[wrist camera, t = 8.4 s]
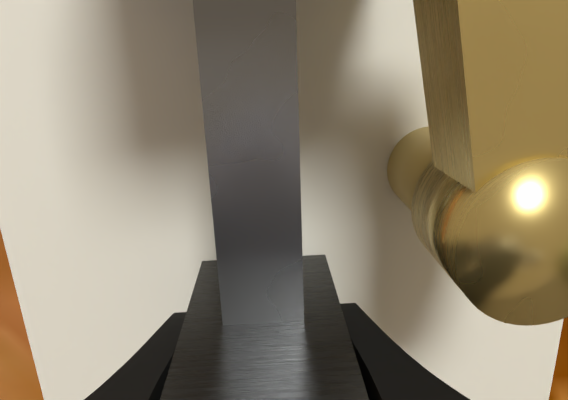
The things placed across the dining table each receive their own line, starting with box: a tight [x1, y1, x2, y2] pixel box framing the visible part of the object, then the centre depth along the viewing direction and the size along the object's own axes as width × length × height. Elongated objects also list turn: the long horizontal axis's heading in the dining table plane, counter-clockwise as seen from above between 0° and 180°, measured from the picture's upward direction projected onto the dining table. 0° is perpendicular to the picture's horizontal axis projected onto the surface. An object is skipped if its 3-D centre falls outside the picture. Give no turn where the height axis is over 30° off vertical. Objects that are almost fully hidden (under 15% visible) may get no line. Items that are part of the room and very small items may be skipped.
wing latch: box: [411, 0, 568, 326], centre depth 7 cm, size 3×7×2 cm, turn 13°
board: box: [0, 0, 563, 400], centre depth 11 cm, size 22×16×4 cm
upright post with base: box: [160, 0, 369, 400], centre depth 8 cm, size 16×3×6 cm, turn 2°
